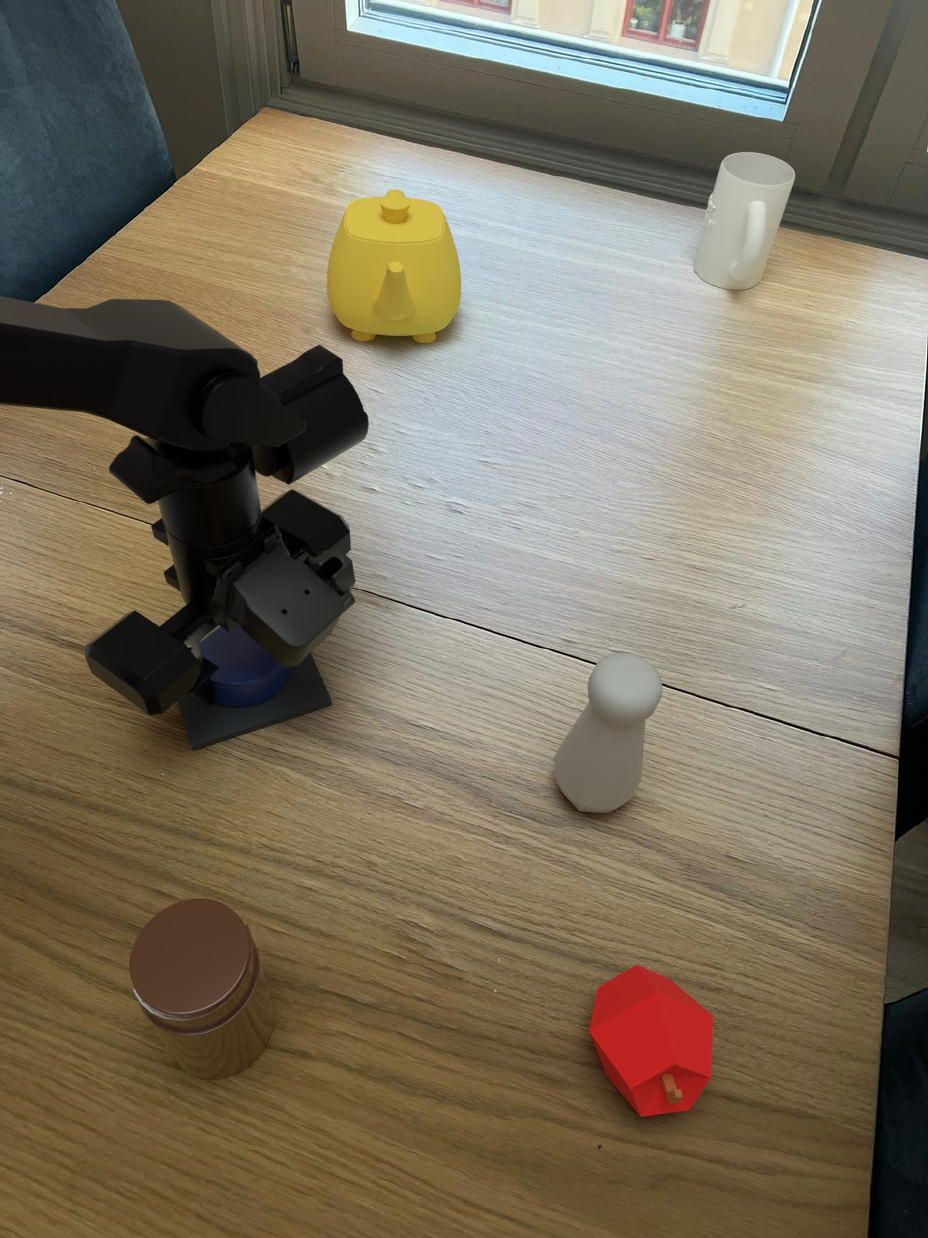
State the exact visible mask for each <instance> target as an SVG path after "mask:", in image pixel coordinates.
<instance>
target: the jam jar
mask: <svg viewBox="0 0 928 1238" xmlns="http://www.w3.org/2000/svg"><path fill="white" fill-rule="evenodd" d="M129 975H130V980H131V983H132V986H133V989H132V992H133V994H134V996H135V997H136V999H137V1001H138V1005H139V1007H140V1008H141V1010H142V1011H141V1012H143V1014H144V1016H145V1017H146V1019H147V1020H148V1022H149V1023H150V1025H151V1027H152V1028H153V1030H154V1032H155V1033H156V1034H157V1037H158V1038H159V1039H160V1041H161V1043H162V1044H163V1046H164V1048H165V1049H166V1051H167V1052H168V1054H169V1056H170V1057H171V1058H172V1060H173V1061H174V1063H175V1064H176V1065H177V1066H178V1067H179V1069H181V1070H182V1071H184V1072H185V1073H186V1074H188V1075H190V1076H192V1077H195V1078H198V1079H202V1080H221V1079H227V1078H229V1077H232V1076H235V1075H237V1074H239V1073H241V1072H242V1071H244V1070H246V1069H247V1068H249V1067H250V1066H251V1065H252V1064H253V1063H254V1062H255V1061H256V1060H257V1059H258V1058H259V1057H260V1056H261V1054H262V1053H263V1052H264V1051H265V1049H266V1047H267V1045H268V1044H269V1041H270V1039H271V1037H272V1033H273V1030H274V1024H275V1006H274V1002H273V998H272V995H271V991H270V988H269V985H268V981H267V977H266V974H265V970H264V967H263V964H262V961H261V957H260V954H259V949H258V947H257V945H256V942H255V939H253V936H252V934H251V930H250V927H249V924H245V922H244V921H243V919H242V918H241V917H240V915H239V914H238V913H237V912H236V911H235V910H234V909H233V908H231V907H230V906H228V905H226V904H225V903H223V902H220V901H218V900H215V899H209V898H199V897H198V898H190V899H184V900H180V901H176V902H174V903H172V904H170V905H168V906H166V907H164V908H162V910H160V911H158V912H157V913H156V914H155V915H153V917H151V918H150V919H149V920H148V921H147V923H145V924H144V926H143V927H142V929H141V930H140V931H139V933H138V935H137V937H136V939H135V941H134V943H133V946H132V949H131V953H130V957H129Z"/></svg>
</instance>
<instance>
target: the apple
mask: <svg viewBox="0 0 928 1238" xmlns="http://www.w3.org/2000/svg"><path fill="white" fill-rule="evenodd" d="M592 1009H593V1010H592V1015H591V1021H590V1025H589V1031H588V1032H589V1034H590V1035H589V1036H590V1037H591V1040H592V1042H593V1045H594V1047H595V1050H596V1052H597V1056H598V1058H599V1060H600V1064H601V1065H602V1068H603V1071H604V1073H605V1076H606V1077H607V1079H608V1080H609V1081H610V1082H611V1083H612V1084H613V1086H614V1087H615V1088H616V1089H617V1091H618V1092H619V1093H620V1094H621V1095H622V1096H623V1098H624V1099H626V1101H627V1102H628V1104H629V1105H630V1106H631V1107H632V1108H633V1109H634V1110H635V1112H636V1113H637V1114H638V1115H639V1116H640V1117H641V1118H643V1117H649V1116H650V1117H651V1116H657V1115H663V1114H671V1113H678V1112H684V1111H685V1112H686V1111H690V1110H691V1108H692V1107H693V1105H694V1104H695V1103H696V1101H697V1100H698V1099H699V1097H700V1095H701V1094H702V1092H703V1091H704V1089H705V1088H706V1087H707V1085H708V1084H709V1082H710V1081H711V1079H712V1065H713V1064H712V1061H713V1060H712V1059H713V1034H714V1029H713V1028H714V1015H713V1014H712V1013H710V1011H708V1010H707V1009H706V1008H705V1007H704V1006H703V1005H701V1004H700V1003H699V1002H698V1001H697V1000H696V999H694V998H693V997H692V996H690V995H689V994H688V993H687V992H686V991H685V990H684V989H683V988H681V987H680V985H678V984H677V983H676V982H674V981H673V980H672V978H670V977H667V976H664V975H662V974H660V973H658V972H656V971H653V970H651V969H648V968H647V967H643V966H641V965H639V964H635V965H633V966H632V967H630V968H628V969H627V970H624V972H622V973H620V974H618V975H617V976H614V977H613V978H611V979H610V980H608V981H606V982H604V983H602V984H601V985H600V986H598V987H597V988H596V994H595V1000H594V1004H593V1008H592Z"/></svg>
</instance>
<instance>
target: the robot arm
mask: <svg viewBox="0 0 928 1238" xmlns="http://www.w3.org/2000/svg"><path fill="white" fill-rule="evenodd" d="M258 363H259V361H258V359H257V358H255V356H254V355H253V354H251V353H250V352H248V351H247V350H245V349H244V348H242V347H241V346H240V345H239V344H237V343H235V342H234V341H232V340H231V339H229V337H226V336H225V335H224V334H223V333H221V332H219V331H218V330H216V329H215V328H213V327H212V326H211V325H210V324H207V323H206V322H204V320H202V319H200V318H198V317H197V316H196V315H194V314H193V313H191V312H190V311H188V310H187V309H186V308H185V307H183V306H181V305H180V304H177V303H175V302H174V301H171V300H166V299H143V298H142V299H140V298H138V299H136V298H135V299H134V298H126V299H125V298H110V299H107V300H105V301H102V302H100V303H97V304H94V305H92V306H89V307H85V308H84V307H79V308H78V307H58V306H53V305H48V304H47V305H46V304H43V303H37V302H33V301H27V300H22V299H17V298H11V297H8V296H1V295H0V406H11V407H19V408H30V409H40V410H41V409H42V410H54V411H63V412H74V413H84V414H89V415H91V416H95V417H99V418H102V419H105V420H108V421H110V422H112V423H115V424H117V425H119V426H120V427H121V426H122V427H124V428H126V429H128V430H131V431H133V432H135V433H137V434H134V435H132V436H131V438H130V440H129V444H127V446H126V447H125V448H124V449H123V450H121V451H120V452H119V453H117V454H116V455H115V457H114V458H113V460H112V462H111V463H110V464H109V466H108V472H109V473H110V474H111V475H112V476H113V477H114V478H115V479H116V480H117V481H118V482H120V483H121V484H122V485H124V487H126V488H127V489H128V490H130V492H132V493H133V494H134V495H135V496H137V497H138V498H139V499H140V500H141V501H142V502H143V503H145V504H146V505H152V504H154V503H156V502H157V504H158V507H159V511H160V515H161V518H159V519H158V520H156V521H155V522H154V523H152V524H151V525H150V527H151V531H152V535H153V538H154V539H155V540H157V541H159V542H160V543H162V544H164V545H165V546H167V547H169V551H170V555H171V558H172V562H173V564H172V565H171V566H169V567H168V568H167V569H166V570H164V571H163V576H164V580H165V583H166V584H168V585H169V586H171V587H172V588H174V589H175V590H177V591H179V592H180V594H181V598H182V599H183V602H184V604H185V605H183V606H182V607H181V608H180V609H179V610H178V611H177V612H176V613H174V614H173V615H172V616H170V617H169V618H168V619H167V620H165V621H164V622H163V623H162V624H160V625H158V624H157V623H155V622H153V621H152V620H151V619H149V618H148V617H146V616H145V615H143V614H142V613H141V612H139V611H137V610H136V609H134V610H131V611H128V612H127V613H125V614H124V615H123V616H122V617H120V618H119V619H117V620H116V621H115V622H114V623H112V624H111V625H110V626H108V628H106V629H105V630H104V631H102V632H101V633H99V634H98V635H97V636H95V637H94V638H93V639H92V640H90V641H89V642H88V643H87V644H85V651H84V653H85V655H84V656H85V661H86V663H87V665H88V668H89V670H90V673H91V674H92V675H93V676H94V677H96V678H97V679H98V680H100V682H102V683H104V684H105V685H107V686H108V687H109V688H111V689H112V690H114V691H115V692H116V693H117V694H119V695H120V696H122V697H123V698H125V699H126V700H127V701H128V702H130V703H131V704H132V705H134V706H135V707H137V708H138V709H139V710H141V711H142V712H144V713H145V714H146V715H148V716H154V715H155V716H156V715H164V714H165V713H166V712H167V711H169V709H171V707H172V706H174V705H175V704H176V703H178V702H177V701H178V700H179V699H180V698H182V697H183V696H184V695H188V694H190V693H192V692H193V693H195V694H196V695H197V696H198V697H199V698H200V699H201V700H203V701H204V702H206V703H207V704H209V705H210V706H211V705H212V704H213V703H214V702H215V692H214V688H213V685H212V681H211V677H210V676H212V675H213V674H214V673H215V672H216V671H217V670H218V669H219V667H218V666H216V665H215V664H213V663H212V662H210V661H209V660H208V659H206V658H205V657H203V656H202V655H201V653H202V649H201V646H200V644H201V643H202V642H203V641H204V640H206V639H207V638H208V637H209V636H210V635H211V634H213V633H214V632H215V631H216V630H217V629H219V628H220V627H222V628H224V629H225V630H227V631H228V632H230V631H231V630H232V629H233V628H234V627H236V626H237V625H238V624H239V625H240V626H241V628H242V629H243V630H244V631H245V632H246V633H247V634H248V635H249V636H250V637H251V638H253V639H254V640H255V641H256V642H257V643H258V644H259V645H260V646H261V647H262V648H264V649H265V650H266V651H267V652H268V653H269V654H270V655H271V657H272V658H273V659H274V660H275V661H276V662H277V663H278V664H280V665H282V666H284V667H294V666H297V665H298V664H299V663H301V662H302V661H303V660H304V659H305V658H306V657H307V655H309V654H310V653H311V654H312V652H313V651H314V650H315V649H316V648H317V647H318V646H320V644H321V643H323V642H324V641H325V640H327V639H328V638H329V637H330V636H331V635H332V633H333V631H334V629H335V628H336V626H337V624H338V621H339V620H340V618H341V616H343V615H344V614H345V613H347V611H348V610H349V609H350V608H351V607H352V606H354V605H355V603H356V599H355V597H354V596H353V593H352V591H353V588H354V586H355V584H356V575H355V569H354V563H353V559H351V558H350V557H349V556H348V555H347V554H348V553H349V552H351V551H352V544H351V543H352V542H351V529H350V525H349V523H348V522H347V521H346V519H345V518H344V517H343V515H341V514H339V513H337V512H336V511H334V510H332V509H331V508H329V507H328V506H325V505H323V504H322V503H320V502H318V501H316V500H315V499H313V498H311V497H309V496H308V495H306V494H304V493H302V492H301V491H298V490H296V489H293V488H291V489H289V490H287V491H285V492H283V493H282V494H280V495H279V496H277V497H276V498H275V499H273V500H272V501H271V502H269V503H268V504H267V505H266V506H265V507H263V508H262V509H261V502H260V493H259V486H258V481H257V474H259V475H261V476H263V477H273V479H276V480H277V481H280V482H281V483H285V484H286V485H288V486H290V485H291V484H293V483H295V482H297V481H298V480H301V478H303V477H305V476H306V475H309V474H310V473H312V472H313V471H315V470H317V469H318V468H320V467H322V466H324V465H326V464H327V463H329V462H330V461H332V460H333V459H335V458H337V457H339V456H340V455H342V454H344V453H345V452H347V451H349V450H350V449H353V448H354V447H355V446H357V445H359V444H360V443H362V442H363V441H364V440H365V439H366V438H367V435H368V433H369V427H370V425H369V424H370V422H369V415H368V413H367V412H366V411H365V409H364V405H363V403H362V401H361V399H360V398H361V397H360V396H359V393H358V392H357V390H356V389H355V387H354V385H353V383H351V381H350V380H349V378H348V377H347V376H346V375H345V374H344V360H343V358H341V357H340V356H338V355H337V354H336V353H334V352H332V351H331V350H329V349H327V347H324V346H323V345H321V344H317V345H315V346H313V347H311V348H310V349H307V350H306V351H304V352H303V353H301V354H300V355H299V356H298V357H297V358H295V359H294V360H291V361H290V362H288V363H286V364H284V365H282V366H281V367H278V368H276V369H274V370H272V371H271V372H269V373H266V374H265V375H262V376H261V371H260V369H259V367H258V366H259V365H258ZM139 434H140V435H139ZM141 435H142V436H145V437H142V436H141Z"/></svg>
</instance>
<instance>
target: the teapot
mask: <svg viewBox="0 0 928 1238" xmlns="http://www.w3.org/2000/svg"><path fill="white" fill-rule="evenodd" d="M327 263H328V264H327V272H326V293H327V294H326V295H327V300H328V304H329V307H330V309H331V311H332V312H333V314H334V316H335V317H336V318H337V319H338V321H339V322H340V323H341V324H342V325H343V326H345V327H346V328H349V329H351V334H350V335H351V337H352V338H353V339H354V340H356V341H358V342H370V341H373V340H374V339H376V337H377V335H378V336H379V335H381V336H391V337H406V336H411V338H412V340H413V341H415V342H417V343H419V344H431V343H432V342H433V343H434V341H436V339H437V335H436V332H440V331H442V330H443V329H445V328H446V327H448V325H449V324H450V323H451V322H452V320H453V318H454V317H455V316H456V314H457V312H458V310H459V306H460V303H461V297H462V275H461V267H460V260H459V255H458V250H457V248H456V243H455V241H454V237H453V234H452V231H451V228H450V226H449V224H448V220H447V218H446V215H445V213H444V211H443V209H442V208H441V206H439V205H438V203H435V202H432V201H429V200H426V199H420V198H414V197H407V196H405V192H404V191H402V190H400V189H389V190H388V191H386V194H385V195H383V196H369V197H361V198H357V199H354V200H352V201H350V203H348V205H347V206H346V208H345V211H344V212H343V215H342V217H341V220H340V223H339V224H338V228H337V230H336V232H335V235H334V238H333V242H332V244H331V248H330V252H329V257H328V262H327Z"/></svg>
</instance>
